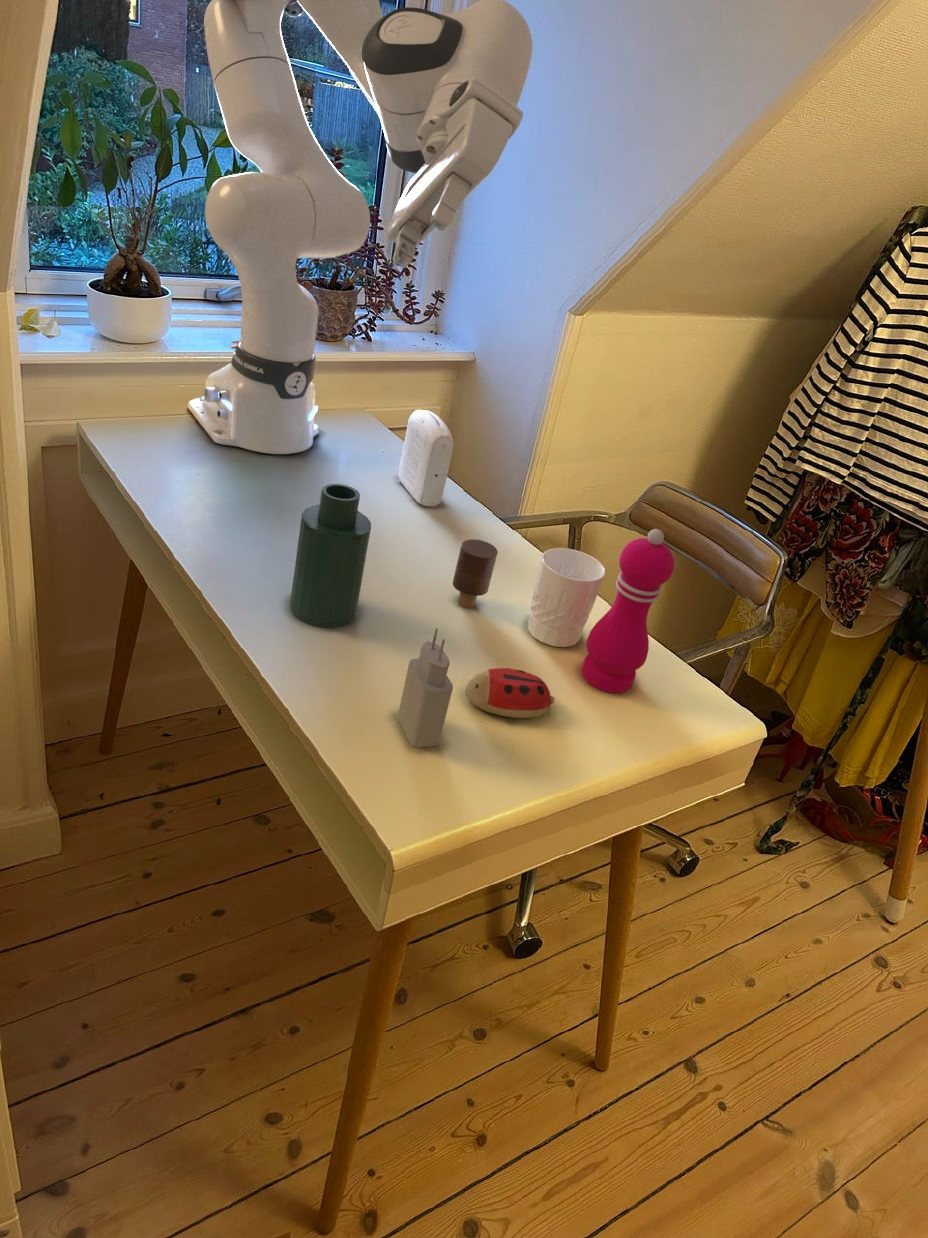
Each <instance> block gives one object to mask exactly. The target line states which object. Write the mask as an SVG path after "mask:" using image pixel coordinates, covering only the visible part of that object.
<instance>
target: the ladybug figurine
mask: <svg viewBox="0 0 928 1238" xmlns="http://www.w3.org/2000/svg"><path fill="white" fill-rule="evenodd" d="M464 692H465V695H466V698H467V700H468V701H469V702H470V703H471V704H472V705H474V706H475V707H477V708H478V709H480V710H482V711H485V712H487V713H489V714H492V715H496V716H499V717H506V718H513V719H531V718H537V717H541V716H543V715H544V714H546V713H547V712H548V711H549V710H550V709H551V708H552V707H551V706H552V705H553V704H554V703H555V697H554V696H552V695H551V692H550V689H549V687H548V686H547V684H546V683H545V681H544V680H543V679H541V677H539V676H537V675H536V674H532V673H531V672H527V671H525V670H521V669H517V668H516V669H515V668H510V667H509V668H508V667H495V668H488V669H484V670H481V671H480V672H478V673H476V674H475V675H474V676H473V677H472V678H471V679H470V680H469V681H468V683H467V685H466V686H465V690H464Z"/></svg>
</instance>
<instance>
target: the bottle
mask: <svg viewBox="0 0 928 1238" xmlns="http://www.w3.org/2000/svg"><path fill="white" fill-rule="evenodd" d="M360 497H361V494H360V492H359V490H358V489H356V488H354V487H352V486H349V485H346V484H343V483H342V484H341V483H328V484H325V485H324V486H323V487H322V488H321V491H320V499H319V504H315V505H311V506H309V507H307V508H305V509H304V511H303V512H302V513H301V518H300V525H299V533H298V541H297V549H296V556H295V563H294V564H295V565H294V571H293V577H292V586H291V593H290V594H291V595H290V602H289V608H290V609H289V610H290V612H291V614H292V615H293V616H294V617H296V618H297V620H300V621H301V622H303V623H305V624H307V625H310V626H314V627H319V628H325V629H326V628H327V629H328V628H329V629H331V628H340V627H343V626H346V625H348V624H350V623H351V622H352V621H354V619H355V617H356V614H357V611H358V605H359V600H360V593H361V588H362V582H363V576H364V572H365V571H364V570H365V565H366V558H367V554H368V548H369V542H370V537H371V532H372V531H371V530H372V522H371V521H370V519H369V518H368V516H366V515H365V514H363V513H362V512H360V511H358V510H359V506H360V505H359V504H360Z"/></svg>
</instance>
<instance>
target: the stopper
mask: <svg viewBox="0 0 928 1238" xmlns="http://www.w3.org/2000/svg"><path fill="white" fill-rule="evenodd" d="M498 554H499V553H498V549H497V547H495V545H493V544H492V543H489V542H487V541H485V540H481V539H473V538H472V539H471V538H470V539H465V540H463V541H462V543H461V545H460V549H459V553H458V557H457V561H456V566H455V571H454V574H453V575H454V576H453V579H452V586H453V588H454V589H455V590H457V591H458V592H459V594H458V599H457V603H458V604H459V605H460V606H462V607H463V608H468V609H469V608H474V606H475V605H476V602H477V598H478V597H480V596H484V595H486V594H487V593H488V592H489V589H490V585H491V580H492V578H493V577H492V576H493V573H494V570H495V566H496V561H497V557H498Z"/></svg>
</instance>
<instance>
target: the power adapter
mask: <svg viewBox="0 0 928 1238" xmlns="http://www.w3.org/2000/svg"><path fill="white" fill-rule="evenodd" d="M438 631H439V628H438V627H436V628H435V630H434V633H433V637H432V641H429V640H427V641H425V642H423V644H422V645H421V648H420V652H419V657H418V658H417V657H416V658H411V659H410V660H409V661H408V666H407V671H406V675H405V680H404V685H403V690H402V693H401V697H400V698H401V699H400V704H399V708H398V712H397V721H398V723H399V725H400V727H401V728H402V731H403V733H404V734H405V736H406V738H407V740H408V741H409V743H410V745H411V746H412V747H414V748H417V749H421V748H423V749H424V748H432V747H437V746H438V745H439V744H440V742H441V738H442V734H443V730H444V726H445V721H446V717H447V714H448V709H449V706H450V701H451V697H452V693H453V689H454V685H453V682H452V681H451V680H450V677H449V676H448V671H449V667H450V663H451V660H450V658H449V657H448V655H447V654H446V652H445V651H444V646H445V642H446V638H442V639H441V644H440V645H439V644H438V643H436V641H437V636H438Z"/></svg>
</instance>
